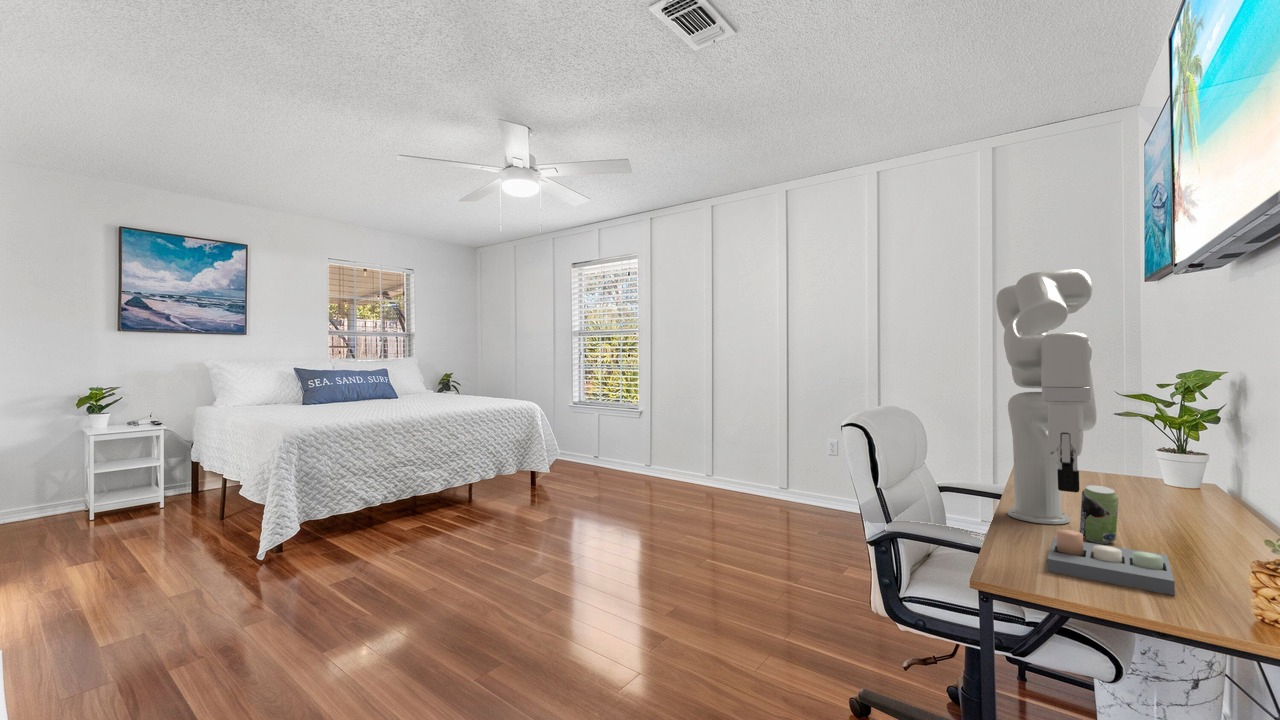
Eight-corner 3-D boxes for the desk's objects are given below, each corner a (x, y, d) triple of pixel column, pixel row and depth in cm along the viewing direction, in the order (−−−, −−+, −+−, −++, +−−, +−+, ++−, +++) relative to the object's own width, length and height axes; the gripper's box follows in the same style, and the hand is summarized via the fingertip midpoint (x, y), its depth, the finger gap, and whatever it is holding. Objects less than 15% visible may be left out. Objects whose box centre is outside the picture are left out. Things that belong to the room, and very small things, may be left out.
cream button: (1094, 563, 104) (1093, 544, 104) (1121, 568, 102) (1121, 548, 102) (1093, 569, 101) (1093, 549, 101) (1122, 574, 99) (1121, 554, 99)
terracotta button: (1057, 547, 108) (1057, 528, 108) (1083, 551, 105) (1083, 532, 105) (1056, 552, 105) (1055, 533, 105) (1083, 556, 102) (1082, 537, 102)
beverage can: (1102, 536, 121) (1100, 482, 121) (1128, 547, 113) (1126, 490, 114) (1072, 536, 121) (1070, 482, 122) (1096, 547, 114) (1094, 490, 114)
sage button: (1132, 570, 101) (1132, 550, 101) (1162, 575, 98) (1162, 554, 98) (1133, 576, 98) (1132, 555, 98) (1164, 582, 95) (1163, 560, 95)
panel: (1054, 548, 113) (1054, 537, 113) (1167, 567, 102) (1167, 554, 102) (1047, 571, 101) (1047, 558, 101) (1174, 595, 90) (1174, 581, 90)
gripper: (1045, 394, 113) (1048, 482, 113) (1038, 397, 102) (1040, 495, 102) (1092, 395, 109) (1095, 487, 108) (1089, 398, 97) (1092, 501, 97)
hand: (1068, 490), depth 105 cm, fingers closed
